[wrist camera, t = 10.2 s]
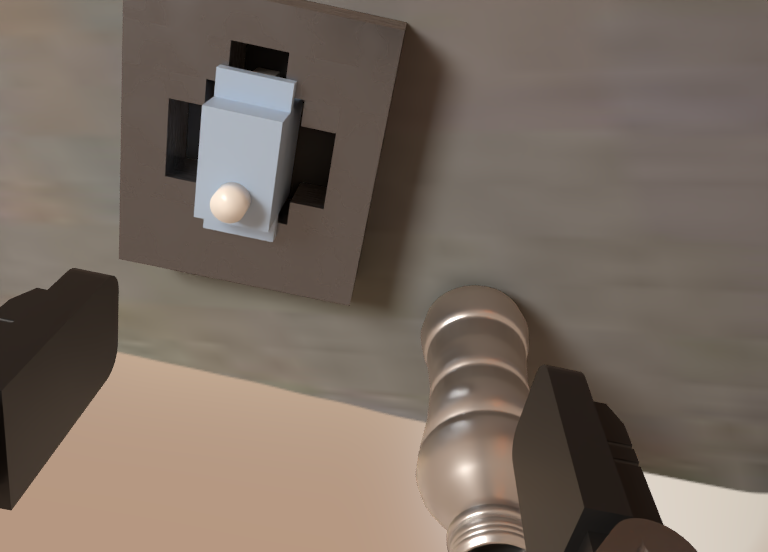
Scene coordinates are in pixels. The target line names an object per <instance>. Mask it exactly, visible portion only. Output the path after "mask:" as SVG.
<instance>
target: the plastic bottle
mask: <svg viewBox="0 0 768 552" xmlns="http://www.w3.org/2000/svg"><path fill="white" fill-rule="evenodd" d="M421 345H422V350H423V355H424V359H425V361H426V364H427V367H428V374H429V382H430V398H429V408H428V418H427V422H426V426H425V430H424V434H423V438H422V442H421V446H420V451H419V454H418V461H417V468H416V480H417V486H418V488H419V491H420V494H421V497H422V499H423V502H424V504H425V506H426V508H427V509H428V511H429V512H430V513H431V515H432V516H433V517H434V518H435V519H436V520H437V521H438V522H439V523H440V524H441V525H442V526H443V527H444V528H445V529H446V530H447V536H446V537H447V549H448V552H526V547H525V540H524V533H523V527H522V520H521V514H520V507H519V501H518V494H517V488H516V481H515V475H514V468H513V461H512V447H513V439H514V434H515V430H516V427H517V424H518V421H519V419H520V416H521V413H522V411H523V408H524V405H525V403H526V400H527V397H528V395H529V392H530V389H529V386H528V376H527V356H528V351H529V329H528V326H527V323H526V320H525V318H524V317H523V315H522V313H521V311H520V310H519V308H518V306H517V305H516V304H515V302H514V301H513V300H512V299H511V298H510V297H508V296H507V295H506V294H504V293H503V292H501V291H499V290H496V289H494V288H490V287H487V286H479V285H471V286H463V287H459V288H455V289H453V290H451V291H448V292H446V293H445V294H443V295H442V296H440V297H439V298H438V299H437V300H436V301H435V302H434V303H433V304H432V306H431V307H430V309H429V310H428V313H427V315H426V318H425V321H424V323H423V326H422V329H421Z"/></svg>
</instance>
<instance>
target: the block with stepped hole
mask: <svg viewBox="0 0 768 552" xmlns="http://www.w3.org/2000/svg"><path fill="white" fill-rule="evenodd" d="M406 25H407V22H403V21H398V20H393V19H389V18H384V17H380V16H375V15H371V14H366V13H361V12H357V11H352V10H348V9H343V8H338V7H334V6H329V5H325V4H320V3H315V2H311V1H306V0H123V43H122V106H121V170H120V234H119V259H122V260H127V261H132V262H137V263H142V264H147V265H152V266H157V267H162V268H166V269H171V270H176V271H181V272H186V273H191V274H196V275H201V276H206V277H211V278H216V279H221V280H226V281H230V282H235V283H240V284H245V285H250V286H255V287H260V288H265V289H270V290H275V291H280V292H285V293H289V294H294V295H299V296H304V297H309V298H314V299H319V300H324V301H329V302H334V303H339V304H344V305H349V306H350V302H351V297H352V293H353V288H354V284H355V279H356V274H357V269H358V264H359V259H360V254H361V249H362V244H363V239H364V234H365V229H366V225H367V220H368V215H369V210H370V205H371V200H372V195H373V190H374V185H375V180H376V175H377V170H378V165H379V160H380V155H381V150H382V145H383V140H384V135H385V130H386V125H387V120H388V115H389V110H390V105H391V100H392V95H393V90H394V85H395V80H396V75H397V70H398V65H399V60H400V55H401V50H402V45H403V40H404V35H405V30H406ZM247 44H252V45H257V46H261V47H266V48H271V49H275V50H280V51H285V52H289V60H288V68H287V76H286V79H289V80H294V81H297V84H296V91H295V98H297V99H302V100H305V101H304V109H303V116H302V123H301V126H303V127H308V128H312V129H317V130H322V131H327V132H331V133H336V137H335V143H334V149H333V155H332V161H331V167H330V173H329V179H328V185H327V187H323V186H318V185H314V184H309V183H304V182H301V183H300V185H299V187H298V189H297V191H296V192H295V194H294V196H293V198H292V200H291V202H290V201H285V203H284V205H283V207H282V208H281V210H280V212H279V214H278V221H277V229H276V236H275V239H274V241H273V242H269V241H264V240H259V239H254V238H250V237H245V236H240V235H235V234H231V233H226V232H221V231H216V230H211V229H207V228H203V223H204V219H202V218H197V217H194V207H195V193H196V180H197V167H198V160H194V159H189V158H186V142H187V126H188V110H189V103H194V104H199V105H203V104H204V103H206V102H207V101H208V100H210V99H211V98H212V97H214V90H215V78H216V67H217V66H219V65H225V66H230V67H234V68H239V69H243V70H244V66H245V55H246V45H247Z"/></svg>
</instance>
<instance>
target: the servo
mask: <svg viewBox="0 0 768 552" xmlns="http://www.w3.org/2000/svg"><path fill="white" fill-rule="evenodd" d="M279 75H280V72H279V71H274V70H270V69H265V68H261V67H258V68H257V69H255V70H254V71H248V70H243V69H239V68H234V67H230V66H225V65H219V66H217V67H216V78H215V90H214V97H212V98H211V99H210V100H208V101H207V102H206V103H204V104H203V105H202V113H201V127H200V140H199V153H198V167H197V180H196V193H195V207H194V217H197V218H202V219H204V223H203V228H207V229H211V230H216V231H221V232H226V233H231V234H235V235H240V236H245V237H250V238H254V239H259V240H264V241H269V242H273V241H274V239H275V236H276V229H277V221H278V214H279V212H280V210H281V208H282V207H283V205H284V203H285V201H286V199H287V197H288V196H289V194H290V187H291V180H292V173H293V166H294V159H295V152H296V146H297V139H298V132H299V125H300V118H301V111H302V104H303V100H302V99H297V98H295V91H296V84H297V81H294V80H289V79H285V78H280V77H279Z"/></svg>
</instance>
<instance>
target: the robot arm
mask: <svg viewBox="0 0 768 552" xmlns="http://www.w3.org/2000/svg"><path fill="white" fill-rule="evenodd" d="M118 294H119V288H118V281H117V279H116V277H115V276H111V275H106V274H101V273H96V272H92V271H87V270H82V269H77V268H72V269H70V270H69V271H67V272H66V273H65V274H64V275H63V276H62V277H61V278H60V279H59V280H58V281H57V282H56V283H54V284H53V285H52V286H51V287H50V288H49V289H48V290H45V289H40V288H36V289H33V290H31V291H28V292H26V293H24V294H21V295H19V296H17V297H14V298H12V299H9V300H8V301H7V302H6V303H5V304H4V305H2V306H1V307H0V508H2V509H7V510H12V509H13V507H14V506H15V505H16V503H17V502H18V501H19V499H20V498H21V496H22V495H23V494H24V492H25V491H26V490H27V488H28V487H29V485H30V484H31V483H32V481H33V480H34V478H35V477H36V476H37V475H38V473H39V472H40V470H41V469H42V468H43V466H44V465H45V464H46V462H47V461H48V459H49V458H50V457H51V455H52V454H53V453H54V451H55V450H56V448H57V447H58V445H59V444H60V443H61V442H62V440H63V439H64V438H65V436H66V435H67V433H68V432H69V431H70V429H71V428H72V427H73V425H74V424H75V423H76V421H77V420H78V418H79V417H80V416H81V414H82V413H83V412H84V410H85V409H86V407H87V406H88V405H89V403H90V402H91V401H92V399H93V398H94V397H95V395H96V394H97V392H98V391H99V390H100V388H101V387H102V386H103V384H104V383H105V381H106V380H107V379H108V377H109V375H110V373H111V371H112V368H113V366H114V363H115V359H116V354H117V347H118ZM512 461H513V468H514V475H515V481H516V488H517V494H518V501H519V507H520V514H521V520H522V527H523V533H524V540H525V547H526V552H697V551H696V549H694V547H693V546H692V545H691V544H690V543H689V542H688V541H686V540H685V539H684V538H683V537H682V536H680V535H679V534H678V533H676V532H675V531H673V530H672V529H670V528H668V527H666V526H664V525H663V523H662V520H661V518H660V515H659V513H658V510H657V507H656V505H655V502H654V500H653V497H652V495H651V492H650V490H649V487H648V484H647V482H646V479H645V477H644V474H643V472H642V469H641V467H638V464H639V461H638V459H637V456H636V454H635V451H634V449H632V444H631V441H630V439H629V436H628V433H627V431H626V428H625V426H624V424H623V423H622V422H621V420H620V419H619V418H618V417H617V416H616V415H615V414H614V413H613V411H612V410H611V409H610V408H609V407H608V406H607V405H606V404H603V403H598V402H593V399H592V396H591V393H590V390H589V387H588V384H587V381H586V378H585V376H584V374H583V373H582V372H578V371H573V370H568V369H563V368H558V367H553V366H548V365H542V366H541V367H540V368H539V369H538V371H537V373H536V376H535V378H534V381H533V384H532V386H531V389H530V392H529V395H528V397H527V400H526V403H525V405H524V408H523V411H522V413H521V416H520V419H519V421H518V424H517V427H516V430H515V434H514V439H513V447H512Z"/></svg>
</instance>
